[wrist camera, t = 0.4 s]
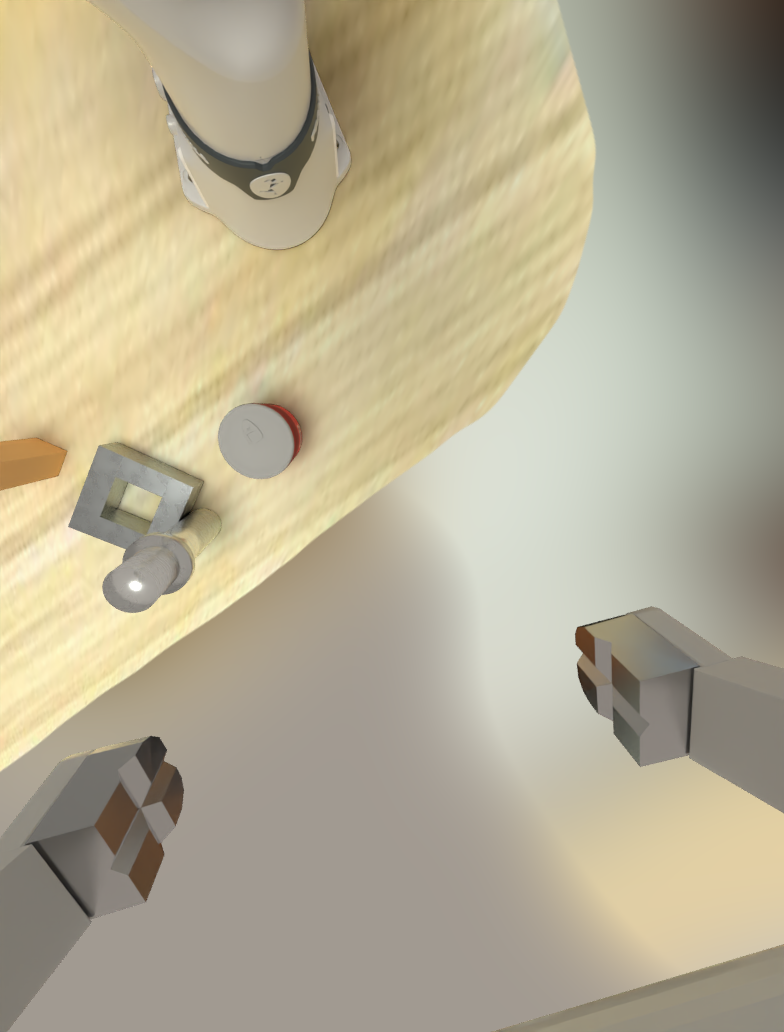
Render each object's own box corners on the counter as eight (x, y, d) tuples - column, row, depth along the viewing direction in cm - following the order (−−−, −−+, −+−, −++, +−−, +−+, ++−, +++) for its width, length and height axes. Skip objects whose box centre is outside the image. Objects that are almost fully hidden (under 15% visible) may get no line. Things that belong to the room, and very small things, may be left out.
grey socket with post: (88, 517, 51) (-60, 584, 32) (117, 442, 49) (-22, 465, 30) (211, 567, 55) (145, 652, 36) (243, 499, 53) (190, 551, 34)
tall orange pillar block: (27, 463, 48) (-69, 481, 37) (36, 437, 48) (-59, 448, 36) (58, 475, 49) (-27, 497, 38) (67, 451, 49) (-16, 465, 37)
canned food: (270, 390, 50) (252, 387, 39) (315, 437, 52) (310, 445, 42) (228, 432, 51) (200, 439, 40) (275, 476, 53) (259, 494, 42)
